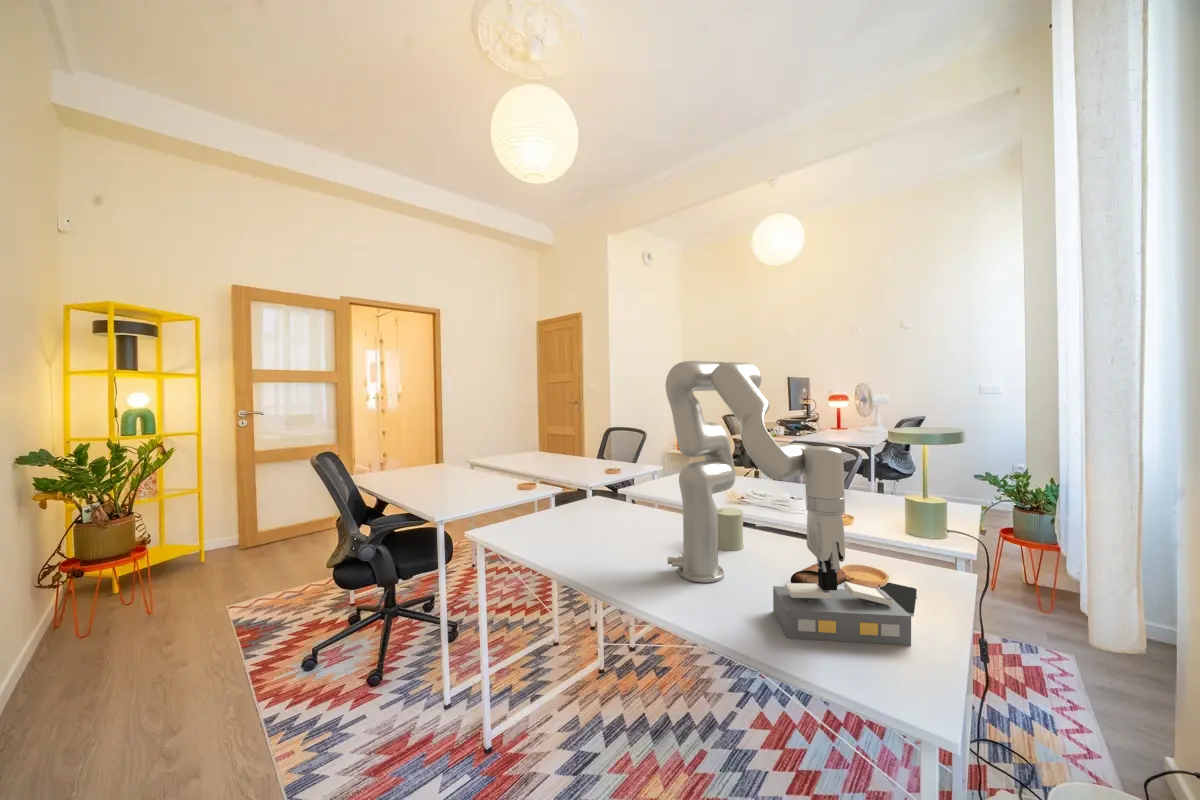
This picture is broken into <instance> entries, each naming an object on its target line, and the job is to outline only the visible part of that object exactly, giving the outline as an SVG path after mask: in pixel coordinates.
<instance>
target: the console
mask: <svg viewBox="0 0 1200 800" xmlns="http://www.w3.org/2000/svg"><path fill="white" fill-rule="evenodd" d="M829 591H830V593H831V598H791V596H790V594H789V593H788V591H787V589H786V586H779V585H772V593H773V594H772V603H773V605H772V608H773V614H774V616H775V618H776V620H777V622H778V624H779V626H780V629H781V630H782V633H783V634H784V636H785V638H786V639H796V640H798V639H799V640H812V641H815V640H817V641H830V642H844V643H845V642H846V643H847V642H848V643H860V644H861V643H863V644H864V643H865V644H880V645H894V646H895V645H896V646H909V647H910V646H912V616H910V615H909V614H908V613H907V612H906V611H905V610H904V609H903V608H902V607H901V606H900V605H899V604H898V603H896V602H895V601H894V600H893V599H892V600H893V603H892V606H890V605H886V604H882V603H878V602H874V601H870V600H866V599H862V598H857V597H853V596H851V595H850V594H849V592H848V591H847V590H846V589H845V588H843V589H842V588H837V590H829ZM884 592H885V591H884ZM885 593H886V592H885ZM886 594H887V593H886ZM887 595H888V594H887ZM888 596H889V595H888ZM889 597H890V596H889ZM890 598H891V597H890Z"/></svg>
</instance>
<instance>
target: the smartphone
mask: <svg viewBox="0 0 1200 800" xmlns="http://www.w3.org/2000/svg"><path fill="white" fill-rule="evenodd" d="M877 589H882V590H883V591H885V592H886V593H887V594H888V595H889V596H890V597H891V598H892V599H893V600H894V601H895V602H896V603H898V604H899V605H900V606H901V607H902V608H903V609H904V610H905V611H906V612H907V613H908V614H909V615H910V616H911V617H914V616H915V611H916V610H915V609H916V602H917V601H916V600H917V599H918V590H917V588H915V587H911V586H907V585H902V584H897V583H894V582H893V583H892V582H888V583H887V584H886V585H885V586H883V587H880V588H878V587H877Z"/></svg>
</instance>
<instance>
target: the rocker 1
mask: <svg viewBox="0 0 1200 800" xmlns="http://www.w3.org/2000/svg"><path fill="white" fill-rule="evenodd" d="M785 587H786V589H787V591H788V593H789V594H790V596H791V598H831V593H830V591H829V590H822V589H821V587H820V586H819V585H818V583H817V584H809V583H791V582H786V583H785Z"/></svg>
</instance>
